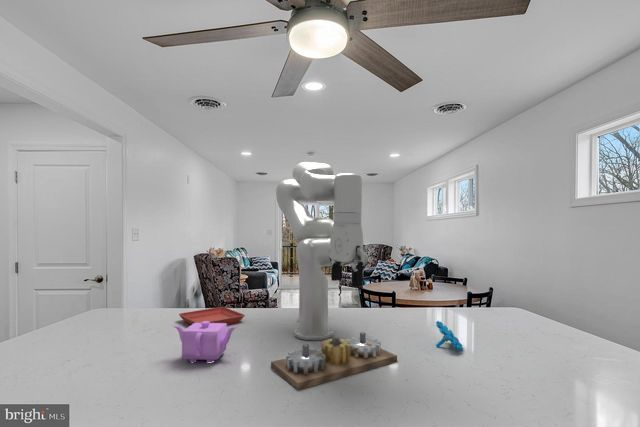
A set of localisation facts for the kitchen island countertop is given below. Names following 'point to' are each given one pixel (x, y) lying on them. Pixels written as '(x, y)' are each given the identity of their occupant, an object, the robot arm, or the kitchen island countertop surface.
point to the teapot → (204, 340)
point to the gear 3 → (448, 337)
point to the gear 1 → (305, 360)
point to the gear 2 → (364, 346)
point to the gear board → (332, 368)
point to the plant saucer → (212, 316)
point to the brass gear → (336, 351)
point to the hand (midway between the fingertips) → (346, 283)
